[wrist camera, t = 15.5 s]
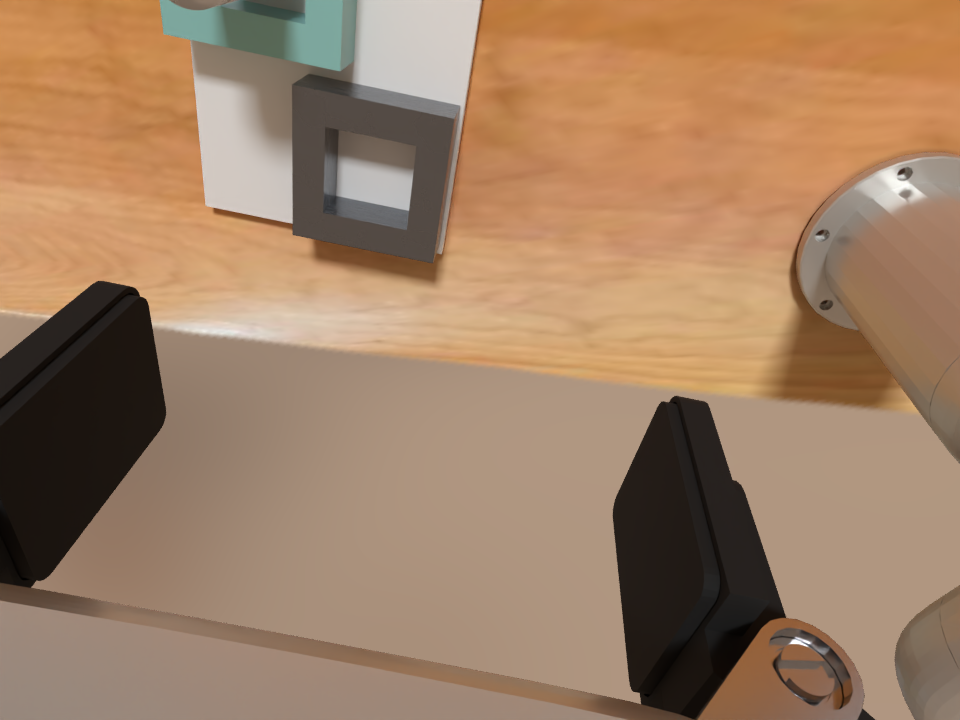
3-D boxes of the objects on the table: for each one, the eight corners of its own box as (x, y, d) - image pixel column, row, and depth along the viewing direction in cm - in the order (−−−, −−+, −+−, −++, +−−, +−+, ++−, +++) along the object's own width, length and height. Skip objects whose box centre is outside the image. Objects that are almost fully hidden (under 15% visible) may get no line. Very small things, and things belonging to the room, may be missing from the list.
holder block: (460, 105, 38) (454, 118, 36) (439, 244, 44) (433, 263, 41) (308, 73, 38) (292, 84, 36) (306, 216, 44) (292, 234, 41)
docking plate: (502, -132, 32) (501, -133, 31) (443, 248, 45) (441, 254, 44) (177, -204, 32) (167, -207, 31) (211, 200, 45) (205, 205, 44)
